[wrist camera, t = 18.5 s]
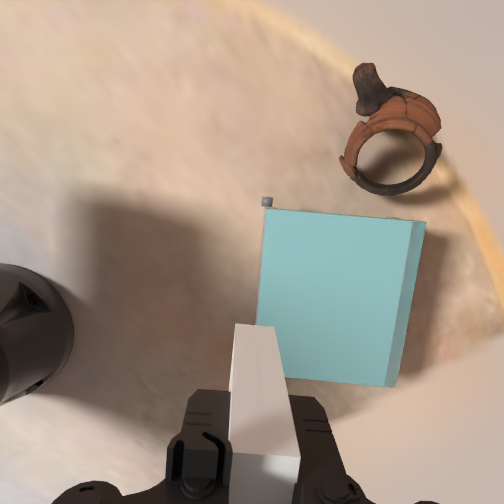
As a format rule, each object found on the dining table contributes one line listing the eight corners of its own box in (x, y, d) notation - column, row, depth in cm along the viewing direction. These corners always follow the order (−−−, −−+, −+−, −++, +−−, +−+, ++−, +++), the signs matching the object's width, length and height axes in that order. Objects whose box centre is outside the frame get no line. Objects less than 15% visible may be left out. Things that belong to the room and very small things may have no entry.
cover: (252, 370, 38) (252, 374, 37) (266, 208, 34) (266, 209, 33) (393, 383, 37) (396, 387, 36) (422, 221, 34) (426, 222, 33)
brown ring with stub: (449, 136, 38) (466, 174, 32) (364, 179, 43) (365, 219, 37) (396, 27, 33) (405, 47, 27) (307, 90, 38) (297, 120, 32)
